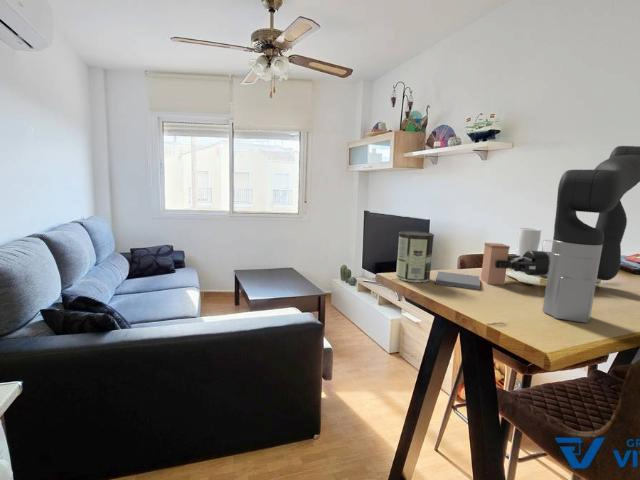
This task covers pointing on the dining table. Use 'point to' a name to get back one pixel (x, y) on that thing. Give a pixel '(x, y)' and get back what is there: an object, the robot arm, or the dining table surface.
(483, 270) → the tea tin
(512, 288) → the dining table surface
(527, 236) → the drinking glass
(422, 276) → the coffee can
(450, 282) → the slate coaster
